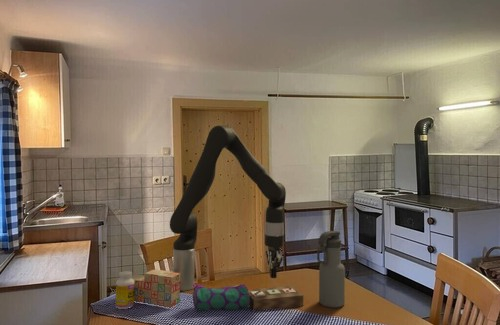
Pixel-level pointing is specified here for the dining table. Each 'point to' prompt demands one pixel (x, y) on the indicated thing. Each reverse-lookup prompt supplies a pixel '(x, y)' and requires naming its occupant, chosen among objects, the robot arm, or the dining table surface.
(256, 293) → the button three dots
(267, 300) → the button panel
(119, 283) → the supplement bottle
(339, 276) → the water bottle
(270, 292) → the button one dot
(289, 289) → the button two dots
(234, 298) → the pencil case
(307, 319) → the dining table surface
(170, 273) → the stack of blocks
